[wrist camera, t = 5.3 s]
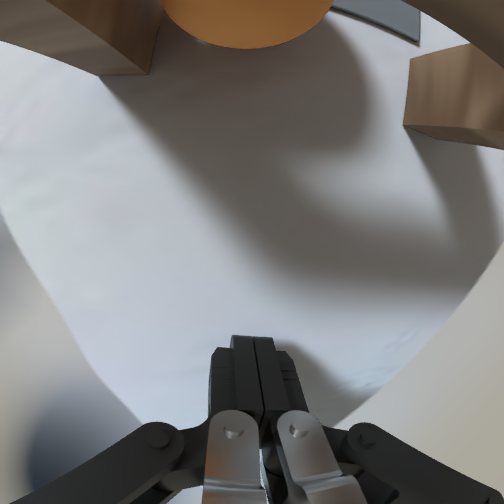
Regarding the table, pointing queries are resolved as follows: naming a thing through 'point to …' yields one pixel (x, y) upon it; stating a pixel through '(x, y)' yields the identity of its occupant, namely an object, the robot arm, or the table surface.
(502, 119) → the bridge
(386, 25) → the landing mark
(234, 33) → the ball
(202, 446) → the robot arm
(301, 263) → the table surface
